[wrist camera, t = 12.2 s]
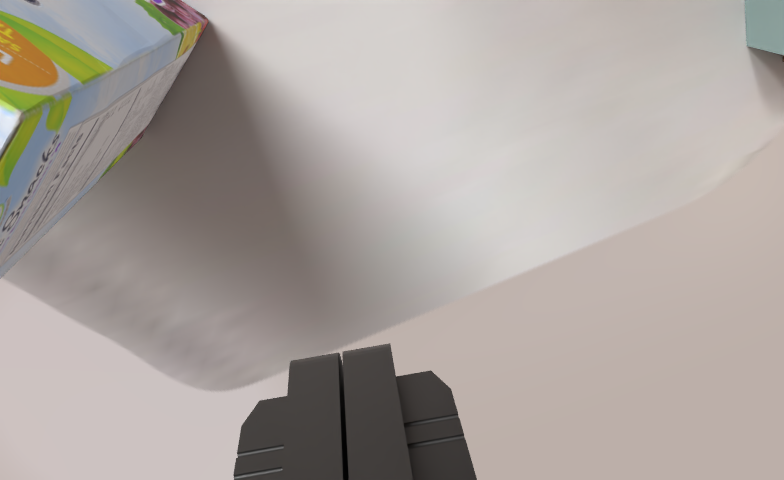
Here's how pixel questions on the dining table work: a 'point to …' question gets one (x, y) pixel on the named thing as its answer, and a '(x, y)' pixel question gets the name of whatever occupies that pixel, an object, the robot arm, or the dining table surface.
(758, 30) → the teal carton
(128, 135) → the snack box
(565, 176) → the dining table surface
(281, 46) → the dining table surface
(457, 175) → the dining table surface
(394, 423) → the robot arm
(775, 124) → the dining table surface
